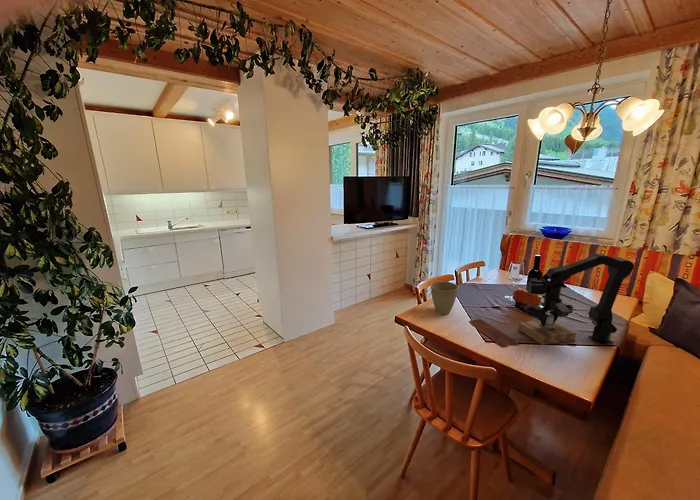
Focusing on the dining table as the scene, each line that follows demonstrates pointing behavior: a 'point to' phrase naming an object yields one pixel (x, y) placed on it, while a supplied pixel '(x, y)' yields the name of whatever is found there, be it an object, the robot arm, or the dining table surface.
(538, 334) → the board
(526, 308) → the bolt
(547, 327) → the peg
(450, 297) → the plant pot
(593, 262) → the robot arm
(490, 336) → the wooden tablet
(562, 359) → the dining table surface
